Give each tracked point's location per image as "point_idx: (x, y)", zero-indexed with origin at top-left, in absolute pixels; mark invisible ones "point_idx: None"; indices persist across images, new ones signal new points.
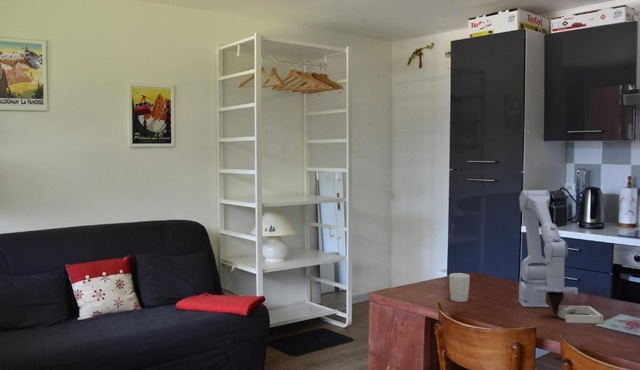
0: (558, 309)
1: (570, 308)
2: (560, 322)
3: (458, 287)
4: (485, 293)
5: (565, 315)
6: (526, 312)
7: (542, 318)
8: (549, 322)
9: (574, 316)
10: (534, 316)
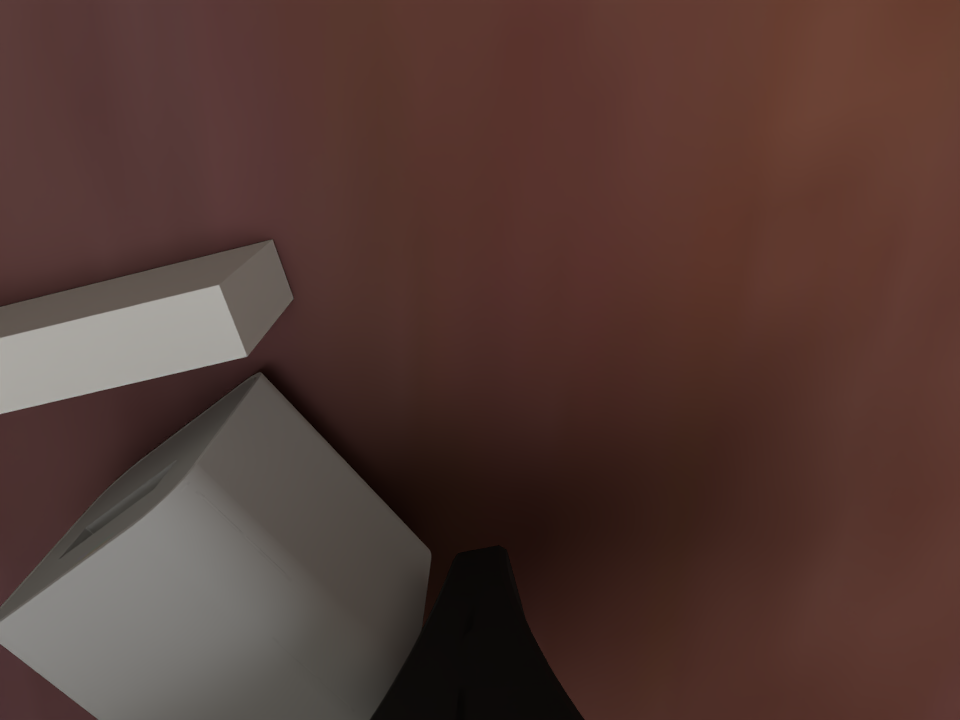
0: None
1: (106, 616)
2: (392, 224)
3: None
4: None
5: (273, 440)
6: (956, 686)
7: (733, 408)
8: (625, 146)
9: (42, 326)
10: (867, 496)
